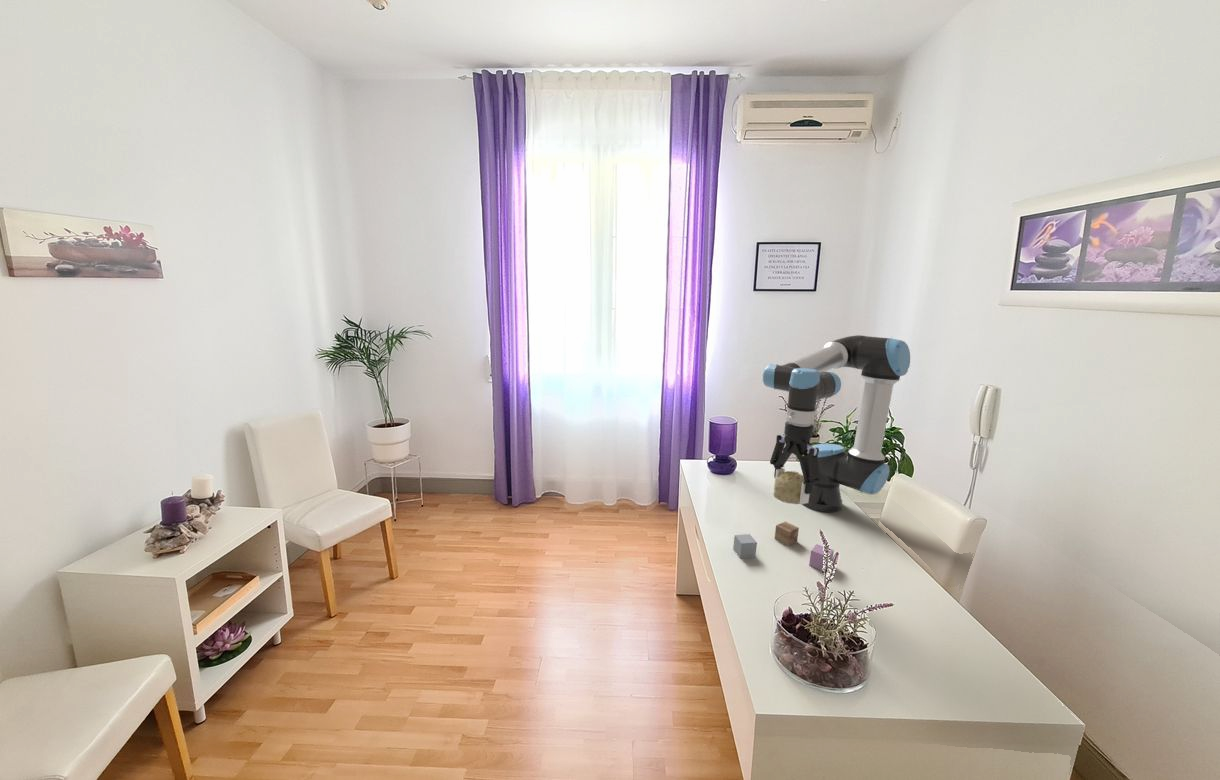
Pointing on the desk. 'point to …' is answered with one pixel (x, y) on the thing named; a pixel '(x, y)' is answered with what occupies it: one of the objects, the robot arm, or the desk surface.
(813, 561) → the plum cube
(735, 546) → the slate cube
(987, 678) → the desk surface
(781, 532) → the walnut cube
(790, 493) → the decorative object
